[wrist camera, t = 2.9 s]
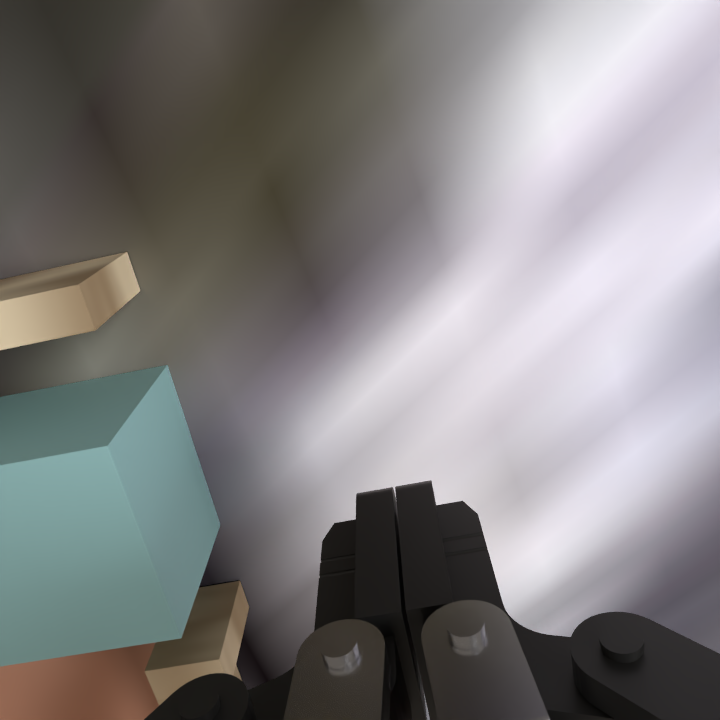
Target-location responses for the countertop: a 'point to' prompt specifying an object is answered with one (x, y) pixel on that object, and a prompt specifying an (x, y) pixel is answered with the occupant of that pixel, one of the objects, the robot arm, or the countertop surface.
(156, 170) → the countertop surface
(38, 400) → the teal block
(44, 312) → the beige wooden flat frame
